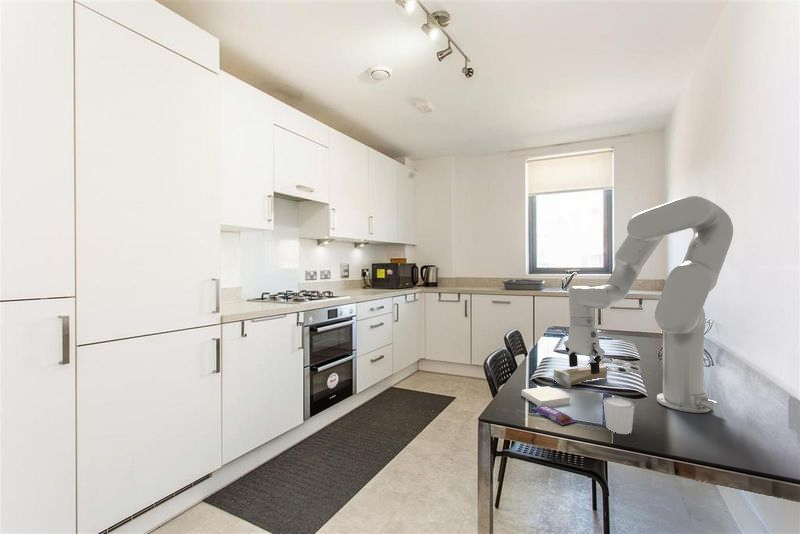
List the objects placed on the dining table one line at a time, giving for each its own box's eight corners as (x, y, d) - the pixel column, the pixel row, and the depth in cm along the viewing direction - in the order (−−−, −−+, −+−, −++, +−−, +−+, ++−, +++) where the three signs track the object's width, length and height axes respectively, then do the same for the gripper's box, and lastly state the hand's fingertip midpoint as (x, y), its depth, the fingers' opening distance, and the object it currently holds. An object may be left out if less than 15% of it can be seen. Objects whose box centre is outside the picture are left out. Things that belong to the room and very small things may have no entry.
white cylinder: (625, 423, 96) (625, 396, 96) (640, 435, 89) (640, 407, 89) (598, 422, 97) (598, 396, 96) (611, 435, 90) (610, 407, 90)
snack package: (531, 405, 106) (544, 402, 107) (531, 412, 106) (544, 408, 108) (562, 421, 95) (576, 417, 97) (562, 428, 95) (576, 425, 97)
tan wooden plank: (612, 381, 128) (612, 368, 127) (568, 388, 122) (568, 375, 122) (595, 375, 134) (595, 363, 134) (553, 381, 128) (553, 369, 128)
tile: (569, 397, 109) (541, 401, 107) (570, 404, 109) (541, 409, 107) (548, 386, 119) (521, 389, 116) (548, 392, 119) (521, 396, 117)
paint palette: (627, 361, 152) (627, 356, 152) (653, 376, 132) (653, 371, 132) (577, 360, 155) (577, 355, 154) (596, 375, 135) (596, 370, 135)
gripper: (611, 323, 120) (613, 375, 120) (571, 317, 136) (574, 362, 136) (593, 325, 118) (595, 378, 118) (555, 319, 134) (557, 365, 134)
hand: (584, 369), depth 127 cm, fingers open, 9 cm apart
